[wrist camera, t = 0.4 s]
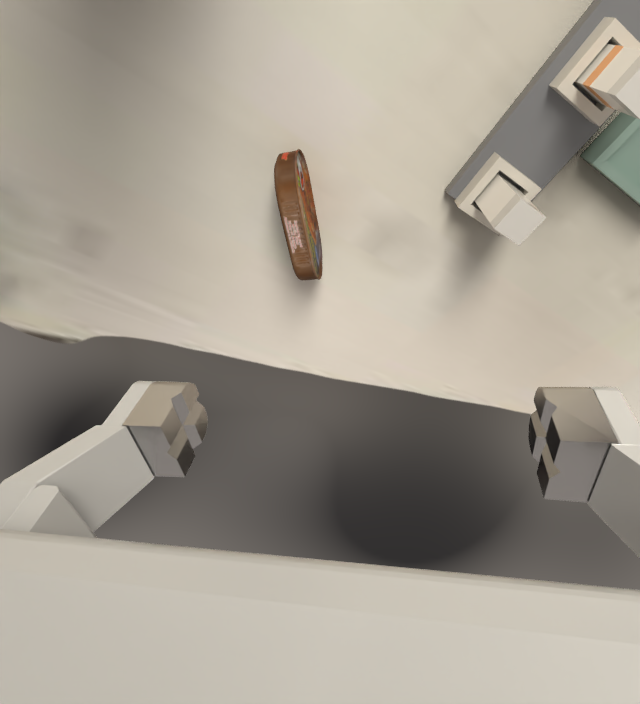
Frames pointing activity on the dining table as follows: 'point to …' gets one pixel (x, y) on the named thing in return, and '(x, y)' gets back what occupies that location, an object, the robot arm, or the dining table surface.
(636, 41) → the board
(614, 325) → the dining table surface
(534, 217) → the block
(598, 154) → the tray
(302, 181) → the tin
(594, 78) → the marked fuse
